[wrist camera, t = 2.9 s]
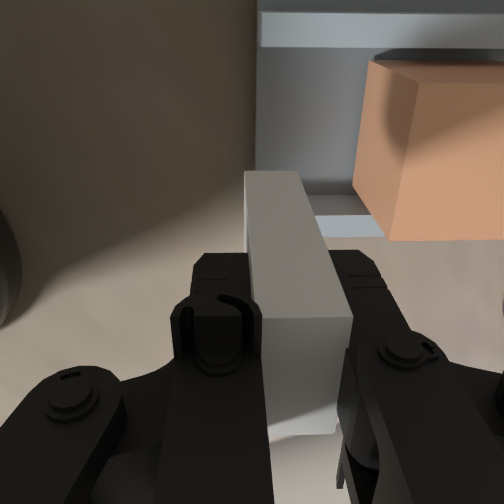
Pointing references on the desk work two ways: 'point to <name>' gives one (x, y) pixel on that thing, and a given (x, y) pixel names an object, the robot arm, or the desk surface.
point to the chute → (347, 83)
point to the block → (433, 149)
